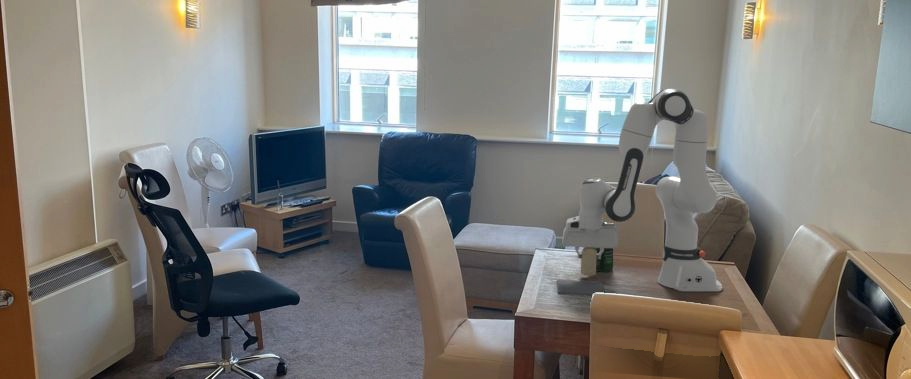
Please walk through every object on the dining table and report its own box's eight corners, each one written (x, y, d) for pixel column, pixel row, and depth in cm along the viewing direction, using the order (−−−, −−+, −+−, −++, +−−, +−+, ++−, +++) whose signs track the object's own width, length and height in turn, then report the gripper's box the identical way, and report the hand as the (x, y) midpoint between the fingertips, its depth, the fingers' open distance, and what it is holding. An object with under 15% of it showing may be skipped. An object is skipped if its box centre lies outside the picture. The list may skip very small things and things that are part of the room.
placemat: (601, 283, 254) (601, 282, 254) (604, 296, 240) (604, 295, 240) (557, 281, 256) (557, 279, 255) (558, 293, 242) (558, 292, 242)
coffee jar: (616, 271, 270) (619, 224, 266) (600, 273, 266) (603, 226, 263) (600, 264, 278) (603, 219, 275) (584, 266, 274) (587, 220, 271)
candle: (595, 276, 257) (597, 250, 255) (580, 275, 258) (581, 249, 256) (595, 271, 262) (596, 246, 260) (580, 270, 263) (582, 245, 261)
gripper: (618, 221, 258) (616, 257, 260) (562, 219, 260) (561, 254, 263) (620, 225, 252) (618, 262, 254) (563, 223, 254) (561, 259, 257)
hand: (588, 258), depth 259 cm, fingers closed on candle, 5 cm apart
